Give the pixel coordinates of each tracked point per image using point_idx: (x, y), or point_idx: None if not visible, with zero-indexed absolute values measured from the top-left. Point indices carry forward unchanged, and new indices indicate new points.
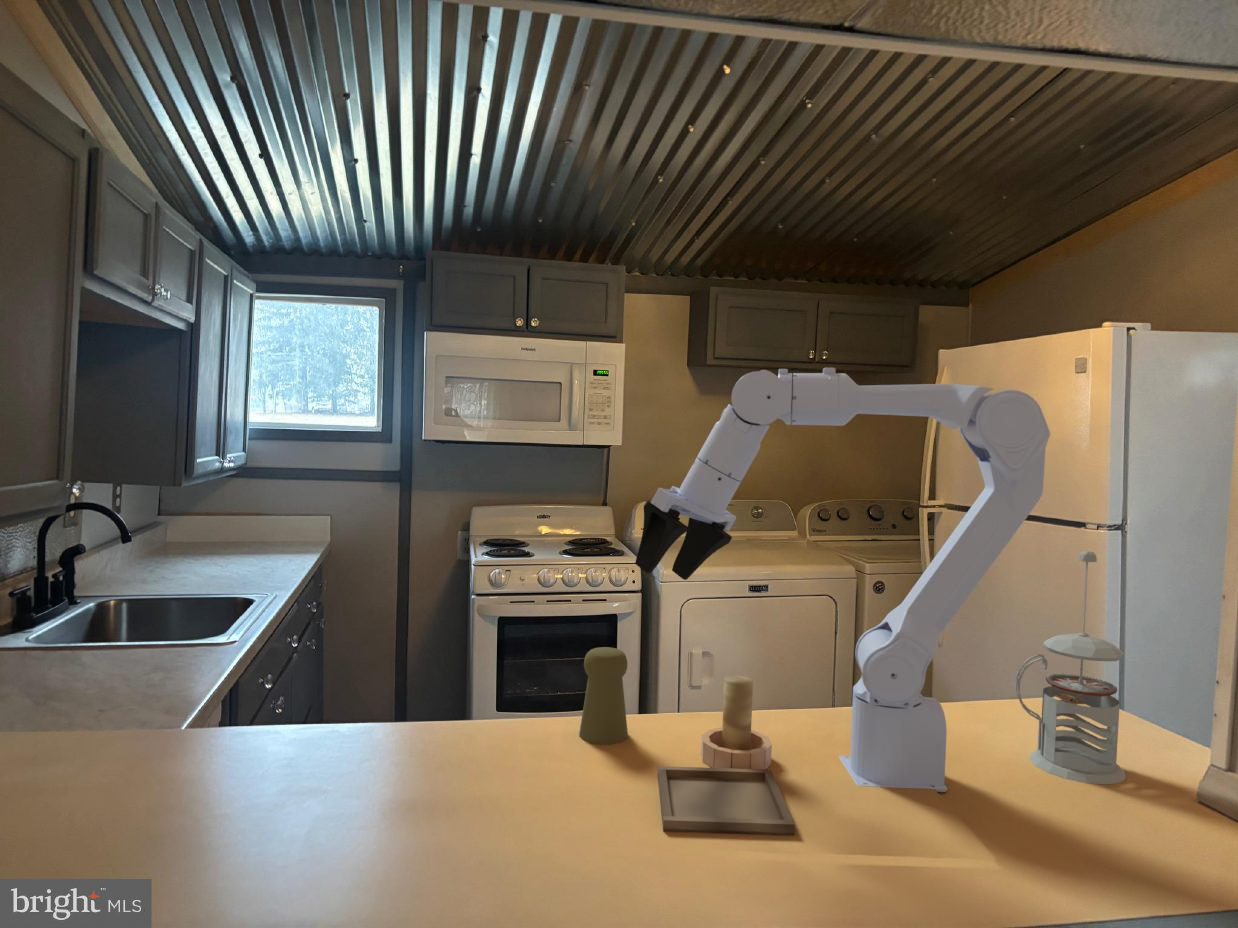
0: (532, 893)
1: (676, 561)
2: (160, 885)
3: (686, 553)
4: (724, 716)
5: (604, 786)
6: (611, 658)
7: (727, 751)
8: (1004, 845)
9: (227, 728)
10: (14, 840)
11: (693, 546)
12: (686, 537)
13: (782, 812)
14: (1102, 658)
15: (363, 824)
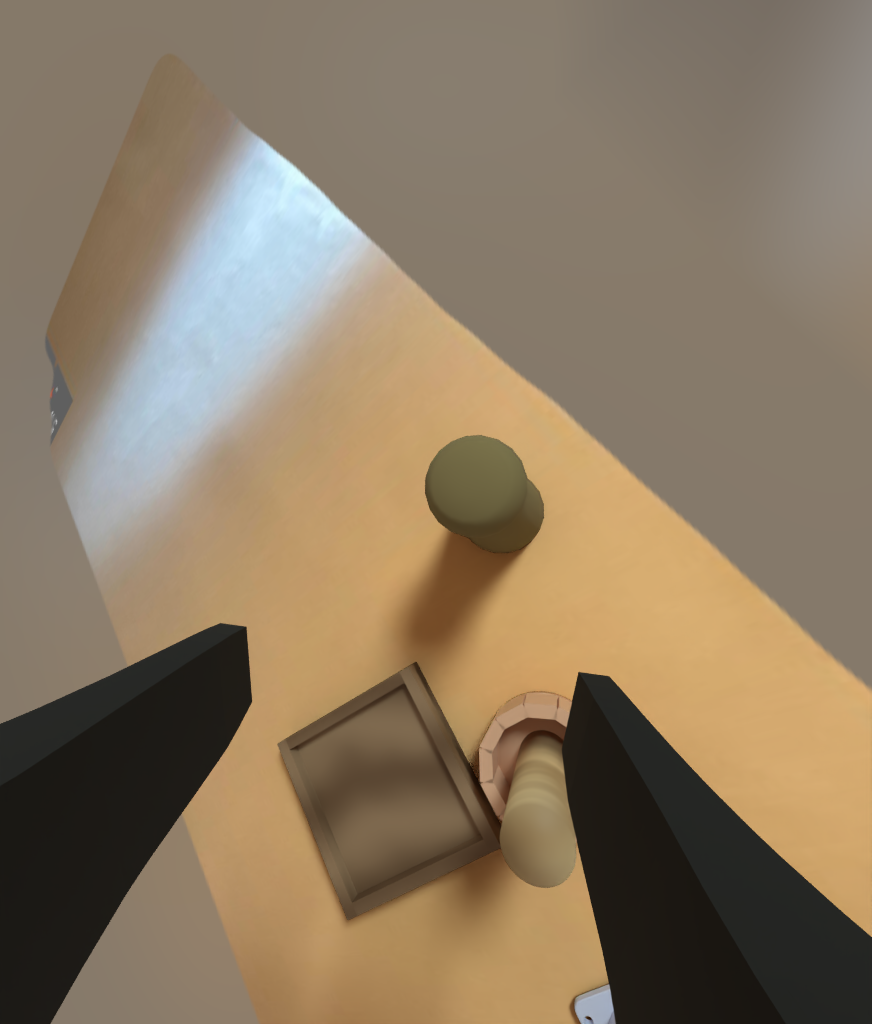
0: None
1: (595, 716)
2: (70, 414)
3: (626, 828)
4: (516, 773)
5: (363, 605)
6: (442, 516)
7: (480, 773)
8: None
9: (261, 141)
10: (69, 276)
11: (649, 953)
12: (704, 913)
13: (370, 896)
14: None
15: (180, 450)
